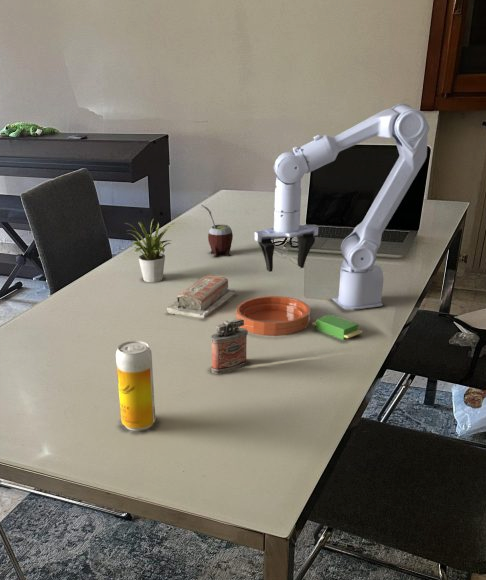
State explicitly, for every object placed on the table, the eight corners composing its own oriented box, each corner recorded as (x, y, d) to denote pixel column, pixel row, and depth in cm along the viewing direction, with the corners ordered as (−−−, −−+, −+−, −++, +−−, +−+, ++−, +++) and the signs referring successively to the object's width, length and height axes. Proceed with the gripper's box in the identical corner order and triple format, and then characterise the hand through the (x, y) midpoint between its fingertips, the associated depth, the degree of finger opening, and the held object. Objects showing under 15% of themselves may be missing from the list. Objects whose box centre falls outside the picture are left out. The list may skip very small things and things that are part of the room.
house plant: (113, 286, 196) (108, 224, 188) (133, 269, 207) (129, 211, 199) (163, 290, 191) (160, 227, 183) (181, 273, 202) (179, 213, 194)
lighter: (216, 375, 146) (216, 329, 141) (207, 369, 149) (207, 323, 144) (250, 365, 149) (251, 319, 144) (241, 359, 152) (241, 314, 147)
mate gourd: (236, 252, 215) (236, 200, 208) (224, 259, 209) (224, 206, 202) (214, 249, 219) (213, 198, 211) (201, 256, 213) (200, 204, 206)
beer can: (120, 417, 134) (114, 341, 127) (154, 414, 134) (149, 338, 127) (122, 433, 129) (116, 356, 121) (157, 430, 129) (152, 352, 122)
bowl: (293, 306, 176) (294, 292, 174) (320, 332, 162) (321, 317, 160) (227, 315, 174) (227, 301, 172) (249, 342, 159) (249, 327, 158)
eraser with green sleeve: (325, 324, 165) (326, 312, 164) (361, 338, 158) (362, 326, 156) (311, 329, 163) (312, 317, 162) (347, 343, 156) (348, 331, 154)
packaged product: (200, 271, 187) (236, 276, 182) (200, 289, 189) (236, 295, 185) (165, 295, 174) (203, 300, 169) (166, 314, 176) (204, 320, 172)
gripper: (262, 217, 160) (261, 277, 167) (325, 210, 162) (321, 270, 169) (252, 209, 166) (251, 268, 173) (312, 203, 168) (309, 261, 175)
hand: (285, 268), depth 171 cm, fingers open, 7 cm apart
